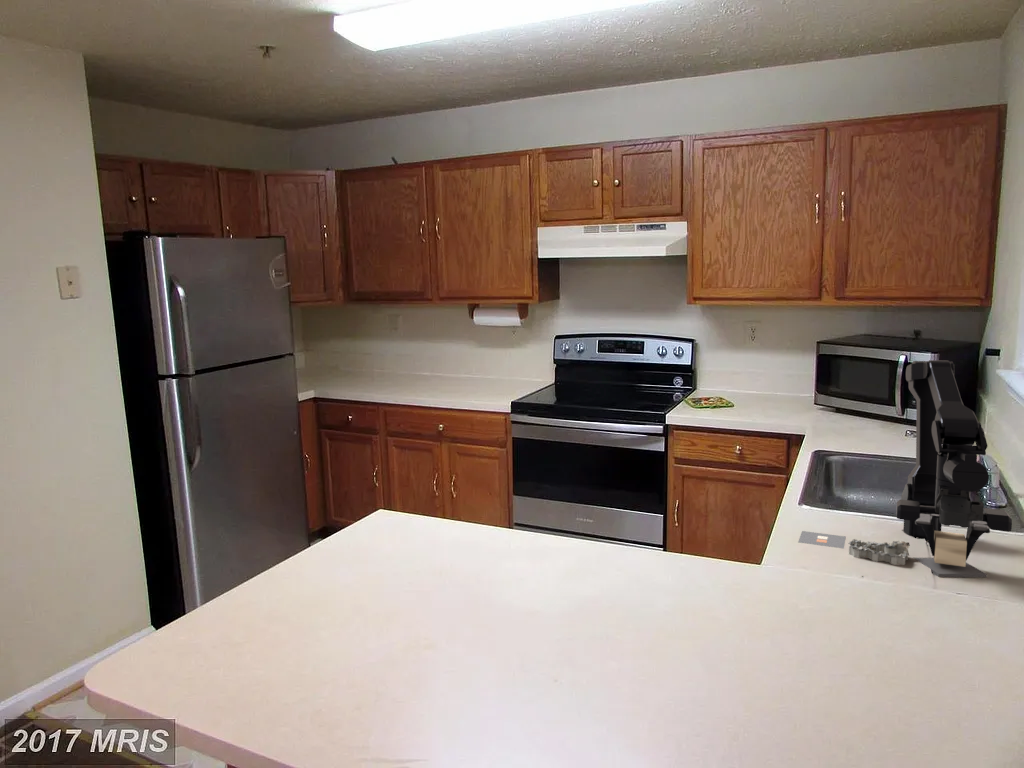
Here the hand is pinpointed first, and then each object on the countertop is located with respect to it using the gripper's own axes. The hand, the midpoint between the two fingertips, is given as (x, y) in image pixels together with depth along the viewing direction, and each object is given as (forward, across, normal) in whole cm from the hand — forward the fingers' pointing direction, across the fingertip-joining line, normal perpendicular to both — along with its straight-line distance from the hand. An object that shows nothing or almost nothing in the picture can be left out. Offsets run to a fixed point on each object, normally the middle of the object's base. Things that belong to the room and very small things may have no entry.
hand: (948, 557), depth 137 cm
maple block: (+1, 0, 0) cm, 1 cm away
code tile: (+2, -23, +6) cm, 24 cm away
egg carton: (+3, -12, 0) cm, 13 cm away
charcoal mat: (+2, 0, 0) cm, 2 cm away
